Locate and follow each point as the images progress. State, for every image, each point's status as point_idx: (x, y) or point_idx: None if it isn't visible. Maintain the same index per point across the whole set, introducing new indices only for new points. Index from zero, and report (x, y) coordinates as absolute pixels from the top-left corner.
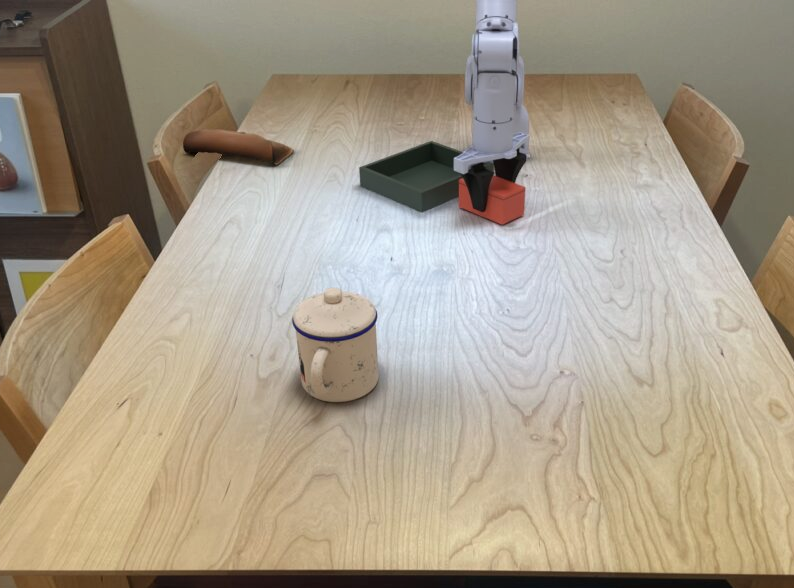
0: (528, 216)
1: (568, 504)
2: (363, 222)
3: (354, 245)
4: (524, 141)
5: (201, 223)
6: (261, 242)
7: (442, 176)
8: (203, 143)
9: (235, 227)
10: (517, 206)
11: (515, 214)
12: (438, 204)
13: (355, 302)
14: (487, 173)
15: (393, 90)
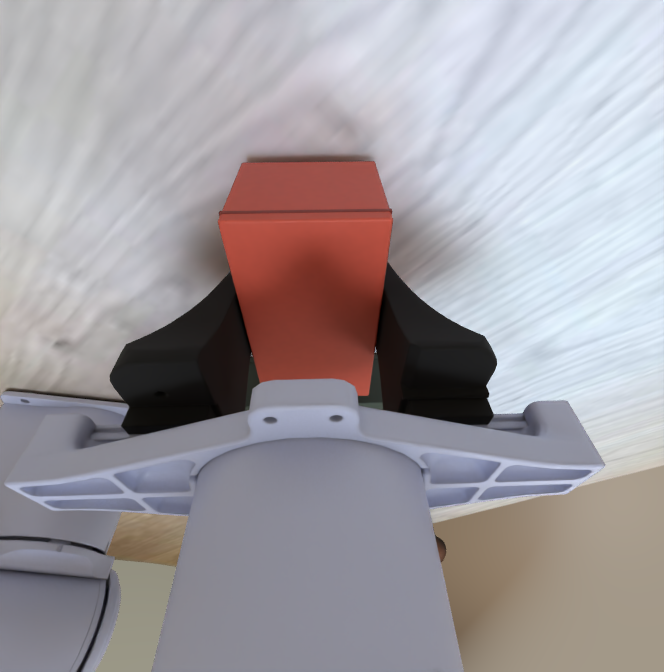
0: (213, 159)
1: None
2: (520, 389)
3: (637, 345)
4: (69, 457)
5: (609, 473)
6: (658, 421)
7: None
8: (440, 550)
9: (610, 455)
10: (283, 182)
11: (297, 168)
12: (377, 361)
13: None
14: (461, 355)
15: (139, 547)
